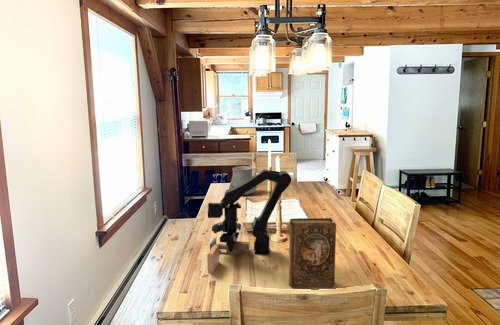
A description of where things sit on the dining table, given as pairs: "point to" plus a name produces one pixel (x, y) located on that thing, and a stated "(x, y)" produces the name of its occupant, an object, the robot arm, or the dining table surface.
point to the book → (312, 253)
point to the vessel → (242, 177)
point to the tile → (213, 258)
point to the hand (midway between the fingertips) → (231, 250)
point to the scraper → (237, 249)
